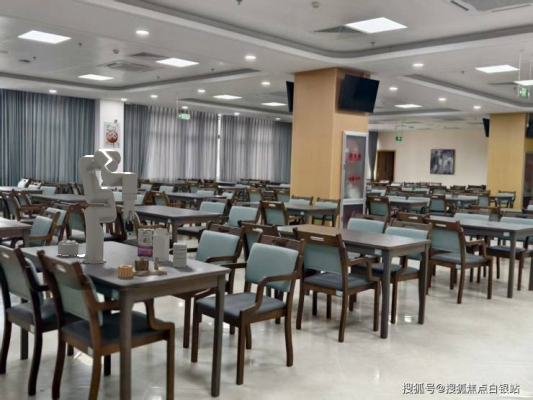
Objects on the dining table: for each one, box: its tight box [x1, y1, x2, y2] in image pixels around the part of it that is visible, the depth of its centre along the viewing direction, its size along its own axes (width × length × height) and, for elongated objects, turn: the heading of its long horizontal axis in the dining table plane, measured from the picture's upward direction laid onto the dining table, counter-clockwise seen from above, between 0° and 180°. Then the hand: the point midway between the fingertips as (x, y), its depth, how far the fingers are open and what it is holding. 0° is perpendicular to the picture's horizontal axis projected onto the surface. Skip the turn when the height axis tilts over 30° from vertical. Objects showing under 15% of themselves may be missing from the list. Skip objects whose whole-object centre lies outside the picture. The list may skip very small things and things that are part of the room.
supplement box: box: [172, 242, 188, 268], centre depth 296 cm, size 7×7×13 cm
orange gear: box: [117, 264, 134, 278], centre depth 265 cm, size 7×7×5 cm
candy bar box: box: [137, 228, 156, 258], centre depth 326 cm, size 11×5×16 cm, turn 68°
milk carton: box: [152, 227, 170, 263], centre depth 310 cm, size 7×7×19 cm
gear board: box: [133, 256, 168, 276], centre depth 276 cm, size 17×11×8 cm, turn 109°
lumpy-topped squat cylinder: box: [57, 239, 79, 255], centre depth 319 cm, size 10×13×9 cm
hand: (129, 230), depth 270 cm, fingers open, 9 cm apart
